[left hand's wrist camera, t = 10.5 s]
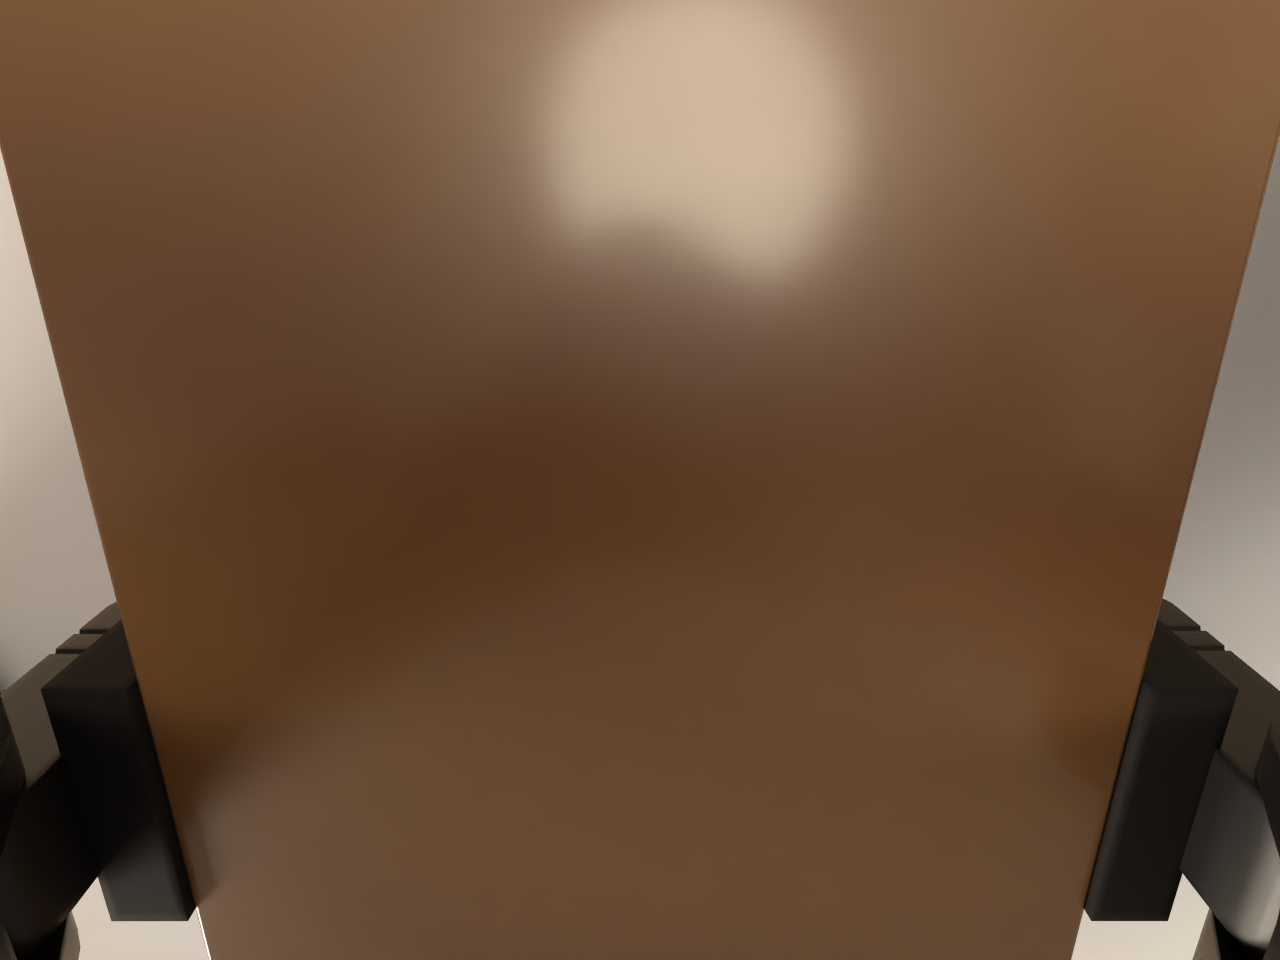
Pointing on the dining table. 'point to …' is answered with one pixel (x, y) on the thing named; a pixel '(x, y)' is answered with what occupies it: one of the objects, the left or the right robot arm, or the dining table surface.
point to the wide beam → (639, 446)
